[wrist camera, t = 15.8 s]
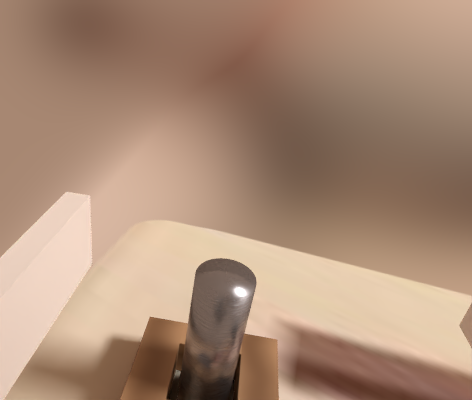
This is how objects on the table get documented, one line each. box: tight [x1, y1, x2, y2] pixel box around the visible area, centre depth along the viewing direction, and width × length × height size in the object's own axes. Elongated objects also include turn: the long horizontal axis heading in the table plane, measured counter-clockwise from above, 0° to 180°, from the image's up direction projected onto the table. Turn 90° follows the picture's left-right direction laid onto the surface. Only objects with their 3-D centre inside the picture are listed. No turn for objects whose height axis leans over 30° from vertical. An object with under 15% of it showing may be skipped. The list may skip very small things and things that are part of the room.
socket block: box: [120, 317, 279, 400], centre depth 39 cm, size 14×12×4 cm
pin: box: [177, 258, 256, 400], centre depth 37 cm, size 5×5×16 cm
